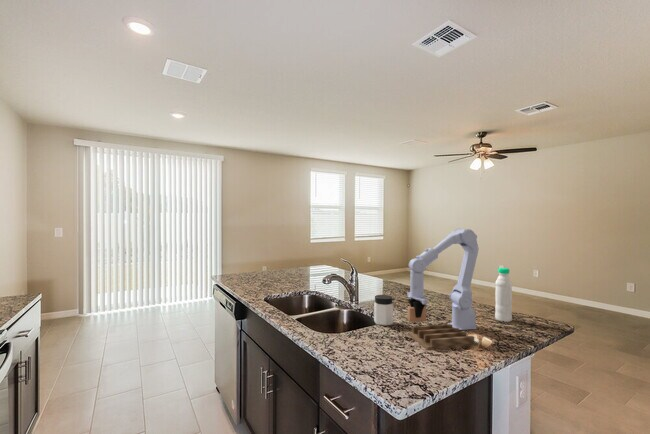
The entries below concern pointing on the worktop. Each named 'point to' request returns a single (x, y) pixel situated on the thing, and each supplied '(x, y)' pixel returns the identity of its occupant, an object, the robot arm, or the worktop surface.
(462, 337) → the rack
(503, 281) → the water bottle
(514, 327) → the worktop surface
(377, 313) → the jar
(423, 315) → the tile
